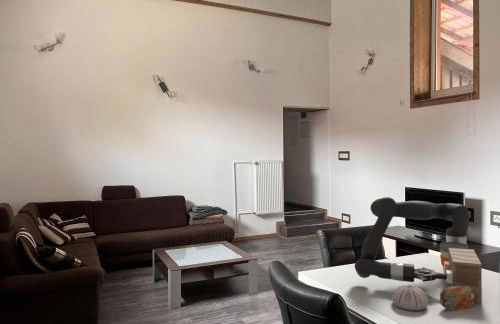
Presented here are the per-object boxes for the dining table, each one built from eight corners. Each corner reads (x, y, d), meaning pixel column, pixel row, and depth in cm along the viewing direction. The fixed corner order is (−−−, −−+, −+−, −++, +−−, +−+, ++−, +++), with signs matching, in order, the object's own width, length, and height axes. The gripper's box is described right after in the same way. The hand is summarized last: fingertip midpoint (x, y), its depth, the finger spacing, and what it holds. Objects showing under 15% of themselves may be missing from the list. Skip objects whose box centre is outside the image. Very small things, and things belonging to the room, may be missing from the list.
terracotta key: (444, 269, 178) (444, 261, 178) (461, 271, 176) (461, 262, 176) (445, 273, 174) (445, 264, 174) (462, 274, 171) (462, 265, 171)
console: (448, 282, 179) (448, 247, 179) (473, 284, 175) (473, 249, 175) (453, 301, 157) (452, 261, 157) (481, 304, 153) (481, 263, 153)
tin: (444, 312, 147) (444, 290, 147) (438, 308, 150) (438, 287, 150) (476, 307, 151) (476, 285, 151) (470, 304, 154) (470, 283, 154)
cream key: (446, 279, 166) (446, 269, 166) (465, 281, 163) (464, 271, 163) (447, 283, 161) (447, 273, 161) (466, 284, 158) (466, 275, 158)
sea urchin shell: (418, 316, 144) (417, 294, 144) (385, 305, 154) (384, 285, 154) (434, 306, 152) (434, 286, 152) (402, 297, 163) (402, 278, 163)
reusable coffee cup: (461, 271, 195) (461, 241, 194) (473, 279, 182) (473, 247, 182) (435, 271, 196) (435, 241, 196) (445, 279, 183) (445, 247, 183)
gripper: (401, 267, 164) (447, 272, 157) (402, 259, 176) (445, 263, 169) (401, 285, 164) (447, 290, 157) (402, 276, 176) (445, 280, 169)
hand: (446, 276), depth 163 cm, fingers closed
